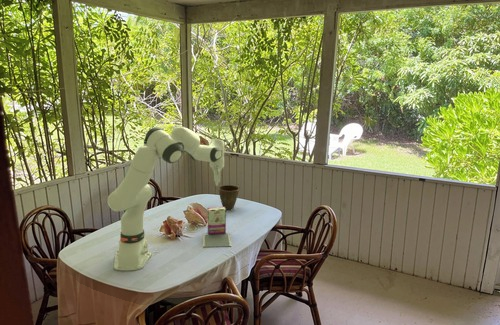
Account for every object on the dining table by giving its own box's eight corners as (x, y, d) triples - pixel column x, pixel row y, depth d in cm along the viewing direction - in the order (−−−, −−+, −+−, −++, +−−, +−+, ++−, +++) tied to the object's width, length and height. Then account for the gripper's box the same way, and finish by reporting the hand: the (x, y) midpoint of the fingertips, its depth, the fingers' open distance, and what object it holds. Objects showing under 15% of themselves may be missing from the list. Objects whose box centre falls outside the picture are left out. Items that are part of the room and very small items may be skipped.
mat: (230, 246, 202) (230, 245, 202) (203, 247, 200) (203, 246, 200) (229, 234, 218) (229, 234, 217) (203, 235, 216) (203, 234, 215)
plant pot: (230, 203, 273) (231, 184, 270) (242, 209, 262) (243, 188, 259) (214, 207, 264) (214, 187, 260) (226, 213, 253) (226, 192, 249)
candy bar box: (224, 230, 224) (225, 206, 220) (225, 234, 219) (226, 209, 215) (207, 231, 221) (207, 207, 217) (207, 235, 216) (208, 210, 212)
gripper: (222, 168, 209) (222, 190, 212) (221, 160, 228) (221, 180, 231) (212, 168, 208) (212, 190, 211) (212, 160, 228) (211, 180, 231)
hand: (216, 185), depth 221 cm, fingers closed
